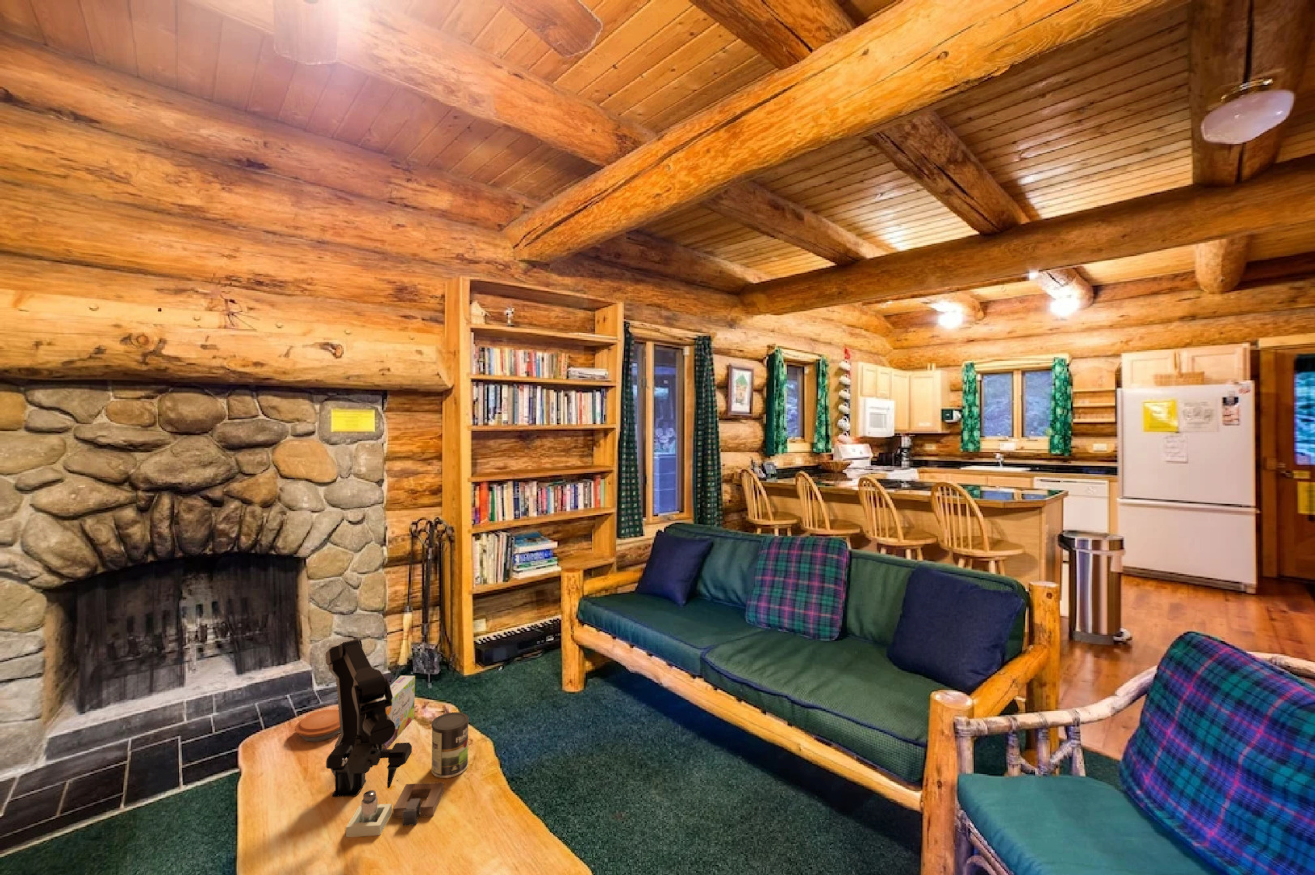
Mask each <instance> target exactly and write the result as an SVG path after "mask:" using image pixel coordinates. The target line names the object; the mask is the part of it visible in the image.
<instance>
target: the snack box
mask: <svg viewBox="0 0 1315 875" xmlns="http://www.w3.org/2000/svg"><path fill="white" fill-rule="evenodd" d="M415 684H416V675H399V677H398V678H397V679H396V680H395V681H394V682H392V683H391V684H390V688H391V692H392V696H393V698H392V700H391V701H392V706H389V707H386V714H387V715H388V716H389V718H390V719H391V720H392V721H393V722H394V724H395V733H394V735H393V736H392V738H391V739H390V740H389V741H388V742H386V743H384V745H383V749H389V747H390V746H391V745H392V744H393V742H394V741H395V740H396V739H397V738H398V737H399V736H400V735H401V734H402V732H403V731H404V730H405V729H406V728H407V727H408V725H409V724H410V723H411V722H412V721H413V720H414V718H415V696H416V695H415V692H416V691H415V690H416V689H415V688H416V685H415ZM384 699H386V698H385V695H384V697H383V698H380V699H377V701H380V700H384Z"/></svg>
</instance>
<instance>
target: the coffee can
mask: <svg viewBox="0 0 1315 875" xmlns="http://www.w3.org/2000/svg"><path fill="white" fill-rule="evenodd" d="M469 720H470V718H469V715H467V714H466V713H463V712H458V711H454V712H447V713H443V714H441V715H438V716H437V717H435V718H434V719H432V722H431V774H432V775H433V776H434V777H436V778H441V779H450V778H453V777H456V776H457V777H458V776H459V775H461V774H462V773H465V771H466V770H467V768H468V767H469Z"/></svg>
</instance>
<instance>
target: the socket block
mask: <svg viewBox="0 0 1315 875" xmlns="http://www.w3.org/2000/svg"><path fill="white" fill-rule="evenodd" d="M444 784H445V783H444V781H442V782H423V783H421V782H420V783H406V784H405V785H404V787H403V789H402V791H401V793H400V795H399V796H398V799H397V800H396V803H395V804H394V806H393V808H392V819H401V818H402V819H403V811H404V809H406V807H407V805H408V803H409V801H410V799H419V798H421V799H426V800H422V803H421V807H420V814H419V816H420V818H421V817H433V816H434V815H435V813H436V810H437V808H438V806H439V803H440V801H441V798H442V796H443V793H444Z"/></svg>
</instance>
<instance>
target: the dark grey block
mask: <svg viewBox="0 0 1315 875" xmlns="http://www.w3.org/2000/svg"><path fill="white" fill-rule="evenodd" d="M421 800H422V798H414V799H410V801H409V803H408V805H407V807H406V809H404V811H403V818H402V826H416V825H417V823H418V818H419V816H420V807H421V805H422V803H421Z"/></svg>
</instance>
